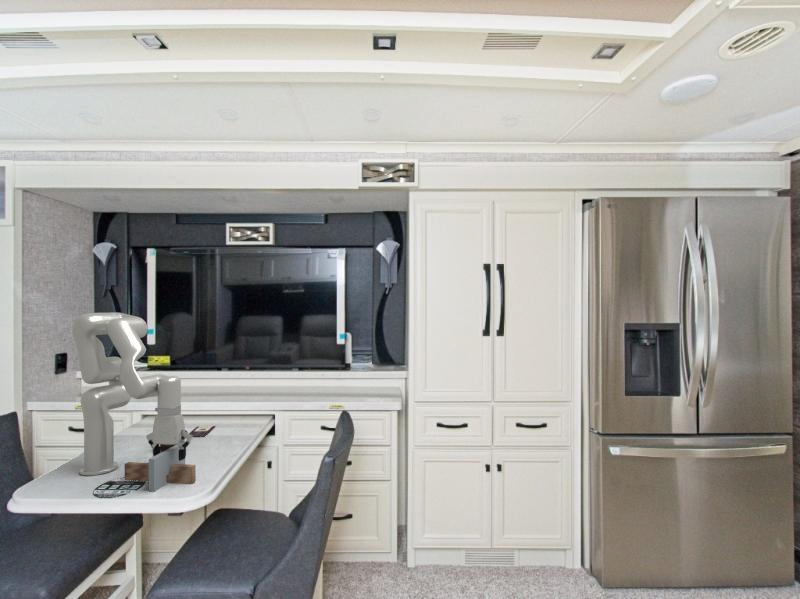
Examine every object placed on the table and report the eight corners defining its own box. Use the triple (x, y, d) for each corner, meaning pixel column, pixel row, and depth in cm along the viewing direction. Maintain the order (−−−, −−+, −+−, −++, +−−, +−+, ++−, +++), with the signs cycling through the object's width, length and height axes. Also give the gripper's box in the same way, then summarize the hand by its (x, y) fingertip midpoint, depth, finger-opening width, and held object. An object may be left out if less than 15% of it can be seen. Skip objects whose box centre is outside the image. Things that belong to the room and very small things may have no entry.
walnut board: (124, 480, 167) (124, 463, 167) (128, 478, 169) (128, 462, 169) (192, 483, 163) (192, 466, 163) (195, 481, 165) (195, 464, 165)
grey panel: (154, 491, 157) (154, 459, 157) (148, 491, 157) (148, 458, 157) (185, 472, 174) (185, 443, 175) (180, 472, 175) (180, 442, 175)
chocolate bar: (185, 436, 219) (197, 426, 237) (185, 438, 219) (197, 428, 237) (204, 435, 220) (215, 425, 238) (204, 437, 220) (215, 427, 238)
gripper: (140, 413, 164) (140, 461, 164) (185, 414, 162) (185, 463, 162) (153, 408, 172) (154, 454, 171) (197, 409, 169) (197, 456, 169)
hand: (169, 458), depth 167 cm, fingers open, 9 cm apart
